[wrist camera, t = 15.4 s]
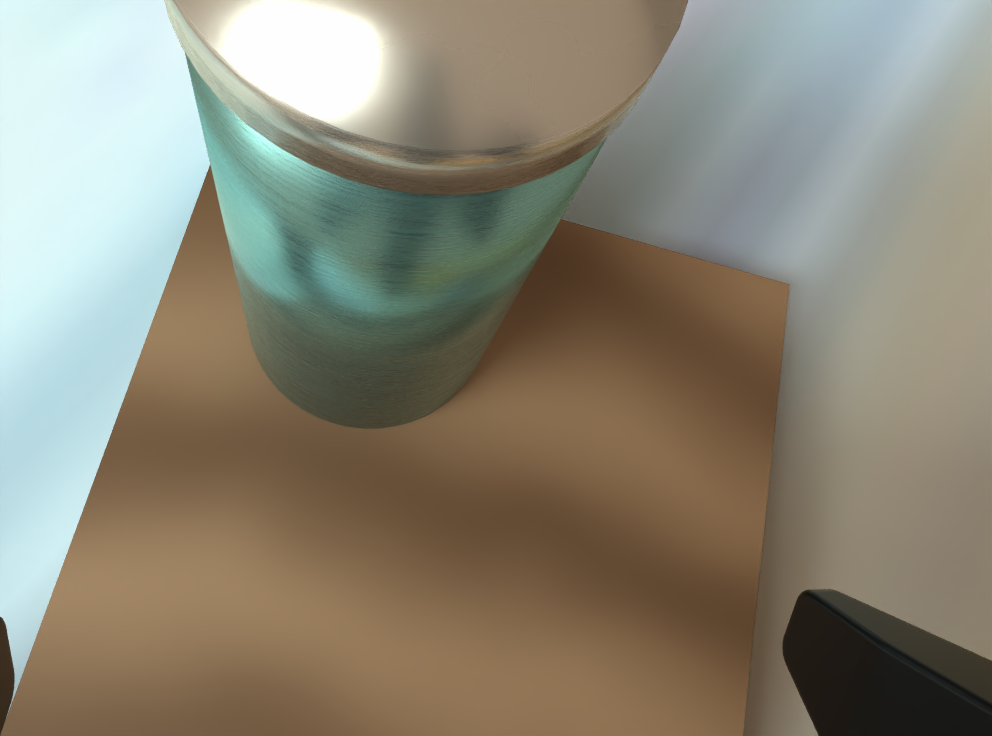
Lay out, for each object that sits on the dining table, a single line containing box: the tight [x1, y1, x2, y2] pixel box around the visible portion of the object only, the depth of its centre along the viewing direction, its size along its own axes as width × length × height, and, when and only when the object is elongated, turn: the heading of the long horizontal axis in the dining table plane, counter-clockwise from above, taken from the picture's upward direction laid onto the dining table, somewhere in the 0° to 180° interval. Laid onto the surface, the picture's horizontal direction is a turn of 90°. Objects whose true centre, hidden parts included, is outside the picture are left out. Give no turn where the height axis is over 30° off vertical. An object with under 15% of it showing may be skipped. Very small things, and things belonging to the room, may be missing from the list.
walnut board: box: [1, 165, 789, 736], centre depth 22 cm, size 18×16×2 cm
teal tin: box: [164, 0, 688, 429], centre depth 16 cm, size 6×6×13 cm
